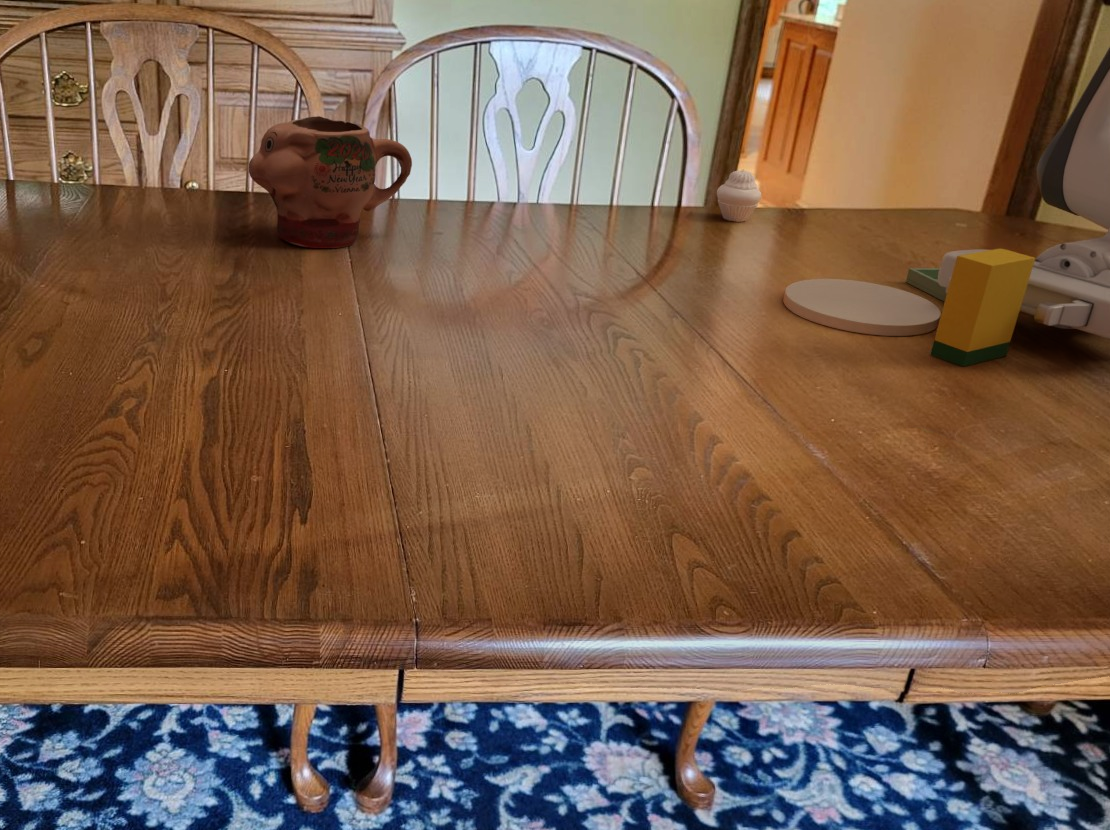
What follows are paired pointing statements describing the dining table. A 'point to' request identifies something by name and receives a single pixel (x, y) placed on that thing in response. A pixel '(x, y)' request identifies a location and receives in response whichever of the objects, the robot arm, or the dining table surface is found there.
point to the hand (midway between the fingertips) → (996, 300)
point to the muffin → (738, 196)
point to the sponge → (982, 306)
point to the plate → (861, 307)
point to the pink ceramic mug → (323, 178)
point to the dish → (927, 281)
